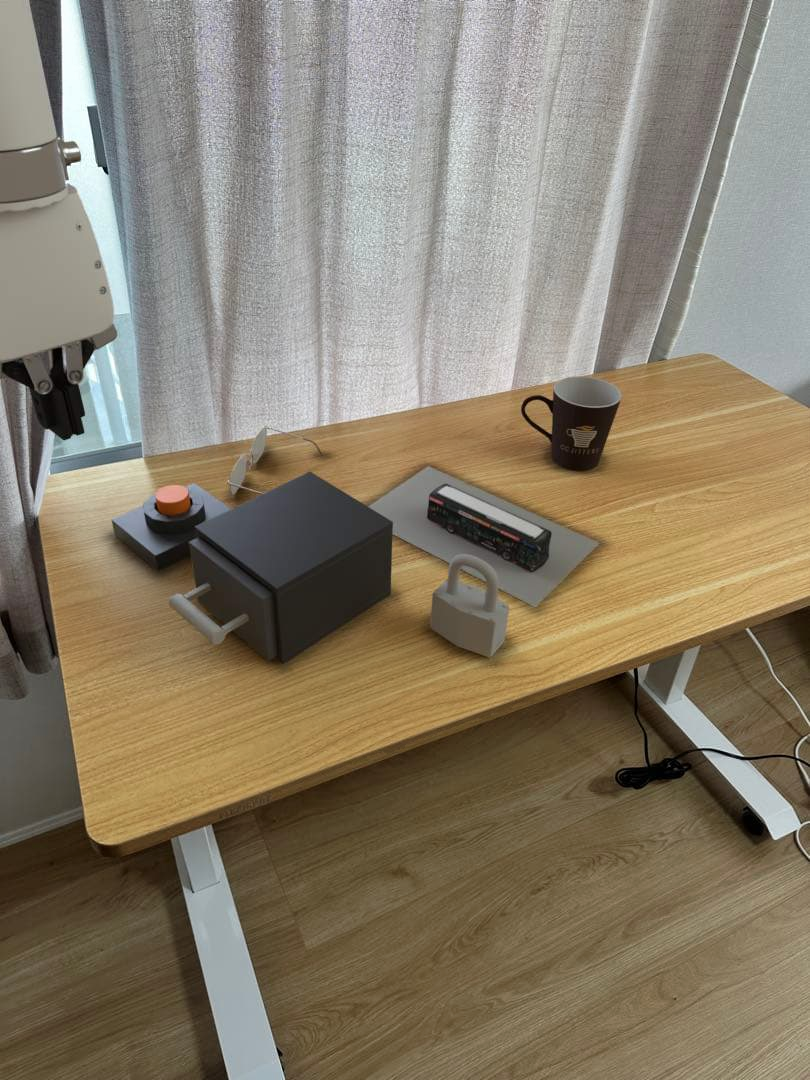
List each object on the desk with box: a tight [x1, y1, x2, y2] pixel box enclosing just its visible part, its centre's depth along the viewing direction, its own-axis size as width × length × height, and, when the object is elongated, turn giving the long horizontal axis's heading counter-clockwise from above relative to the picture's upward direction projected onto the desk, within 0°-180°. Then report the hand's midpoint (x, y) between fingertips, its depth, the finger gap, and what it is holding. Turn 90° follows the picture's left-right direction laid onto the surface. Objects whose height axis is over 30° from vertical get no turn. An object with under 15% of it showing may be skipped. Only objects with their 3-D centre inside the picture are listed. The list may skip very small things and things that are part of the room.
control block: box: [111, 482, 232, 572], centre depth 91 cm, size 11×9×4 cm
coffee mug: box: [520, 375, 623, 472], centre depth 106 cm, size 12×9×10 cm
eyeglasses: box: [227, 425, 324, 496], centre depth 101 cm, size 14×8×4 cm, turn 168°
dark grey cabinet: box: [195, 471, 393, 665], centre depth 82 cm, size 15×13×10 cm
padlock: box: [429, 554, 510, 658], centre depth 78 cm, size 7×4×10 cm, turn 56°
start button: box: [155, 484, 190, 515], centre depth 90 cm, size 4×4×2 cm
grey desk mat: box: [367, 466, 600, 608], centre depth 94 cm, size 14×25×4 cm, turn 52°
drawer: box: [168, 537, 278, 662], centre depth 79 cm, size 18×11×8 cm, turn 136°
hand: (65, 430), depth 61 cm, fingers closed
